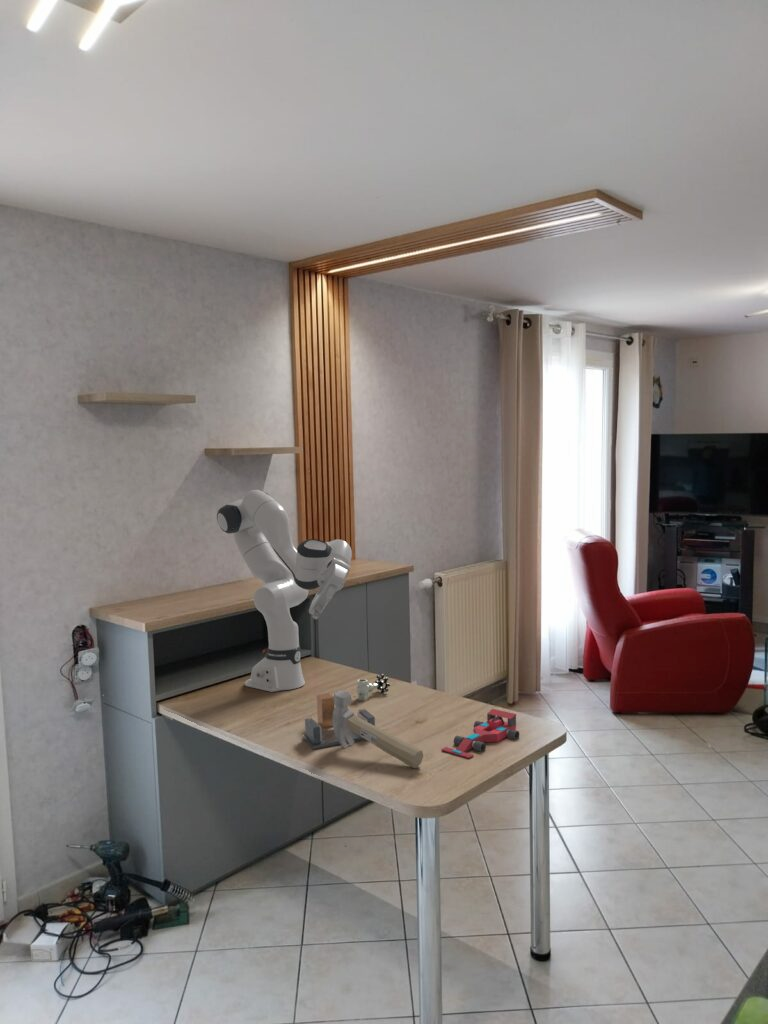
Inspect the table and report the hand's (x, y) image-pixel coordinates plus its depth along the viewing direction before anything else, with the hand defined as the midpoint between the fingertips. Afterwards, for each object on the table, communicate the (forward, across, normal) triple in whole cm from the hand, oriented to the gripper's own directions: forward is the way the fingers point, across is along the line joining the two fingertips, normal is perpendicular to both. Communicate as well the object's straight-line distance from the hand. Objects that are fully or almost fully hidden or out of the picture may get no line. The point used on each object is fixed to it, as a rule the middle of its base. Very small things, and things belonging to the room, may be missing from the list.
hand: (321, 608), depth 236 cm
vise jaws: (+28, -16, +21) cm, 39 cm away
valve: (-5, -34, +34) cm, 48 cm away
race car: (+26, +6, +56) cm, 62 cm away
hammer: (+38, -2, +29) cm, 48 cm away
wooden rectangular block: (+20, -25, +18) cm, 37 cm away
